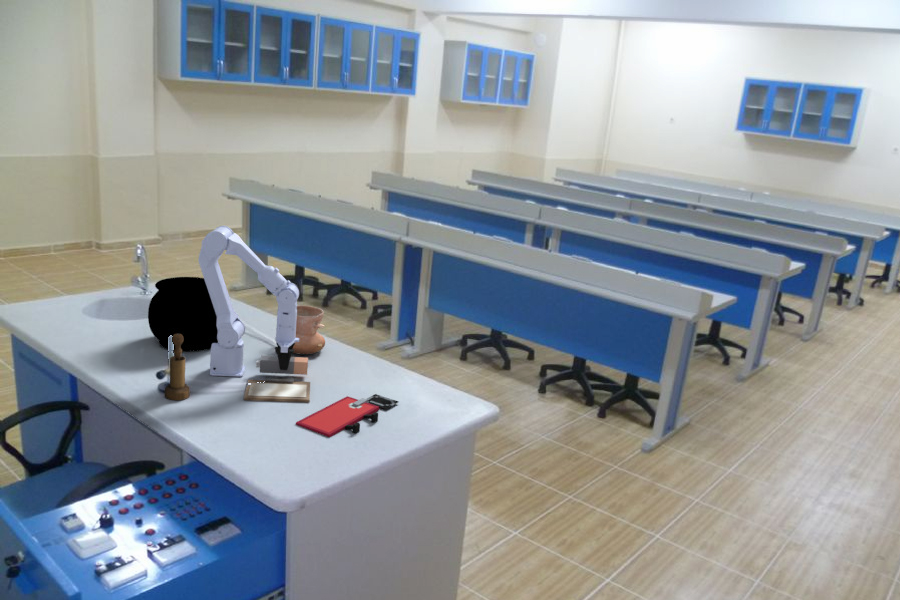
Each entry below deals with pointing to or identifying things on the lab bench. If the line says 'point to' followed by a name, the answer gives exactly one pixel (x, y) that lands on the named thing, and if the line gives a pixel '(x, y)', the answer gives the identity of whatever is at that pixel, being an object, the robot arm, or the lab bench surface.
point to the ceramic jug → (308, 330)
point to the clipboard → (278, 390)
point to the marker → (272, 366)
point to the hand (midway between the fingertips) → (284, 366)
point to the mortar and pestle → (177, 373)
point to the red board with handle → (345, 415)
